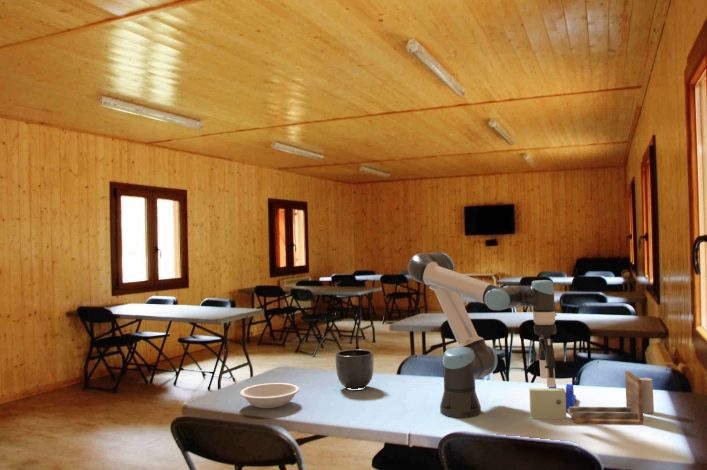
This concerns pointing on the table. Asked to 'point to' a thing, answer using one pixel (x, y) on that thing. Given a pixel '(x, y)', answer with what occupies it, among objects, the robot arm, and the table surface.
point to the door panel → (547, 403)
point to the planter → (354, 367)
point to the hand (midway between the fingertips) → (547, 382)
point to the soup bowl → (269, 394)
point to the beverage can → (647, 395)
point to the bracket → (569, 396)
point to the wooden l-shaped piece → (614, 414)
